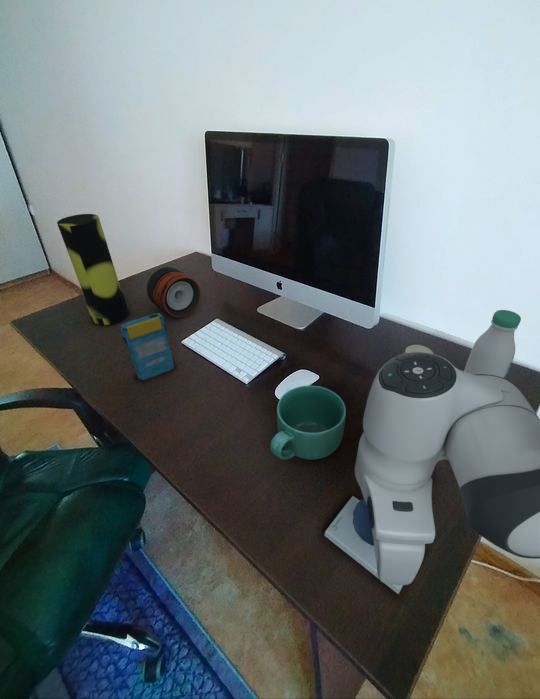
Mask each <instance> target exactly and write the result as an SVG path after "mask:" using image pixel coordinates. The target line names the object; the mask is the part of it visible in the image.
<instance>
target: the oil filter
mask: <svg viewBox="0 0 540 699" xmlns="http://www.w3.org/2000/svg"><path fill="white" fill-rule="evenodd" d="M146 293H147V296H148V299H149V300H150V301H151V303H152V304H153V305H154V306H156V307H158V308H159V309H161V310H163V311H164V312H166V313H167V314H169V315H170V316H172V317H174V318H183V317H186V316H189V315H190V314H191V313H193V312H194V311H195V310H196V308H197V307H198V305H199V304H200V301H201V288H200V285H199V283H198V282H197V281H196V280H195V279H194V278H192V277H190V276H188V275H187V274H185V273H184V272H183V271H181V270H178V269H177V268H175V267H170V266H165V267H161V268H158V269H157V270H155V271H154V272H153V273H152V274H151V275H150V277H149V279H148V280H147V284H146Z"/></svg>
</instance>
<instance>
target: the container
mask: <svg viewBox="0 0 540 699" xmlns="http://www.w3.org/2000/svg"><path fill="white" fill-rule="evenodd" d="M56 224H57V227H58V230H59V232H60V236H61V237H62V240H63V243H64V246H65V248H66V252H67V254H68V256H69V259H70V262H71V264H72V267H73V270H74V272H75V275H76V278H77V280H78V283H79V286H80V289H81V291H82V294H83V296H84V300H85V304H86V307H87V310H88V313H89V315H90V317H91V318H92V320H93V322H94V323H95V324H96V325H99V326H111V325H116V324H118V323H121V322H122V321H124V320H125V319H126V318H127V317H128V315H129V311H128V308H127V307H128V304H127V301H126V299H125V298H126V297H125V295H124V293H123V291H122V287H121V285H120V282H119V279H118V275H117V272H116V268H115V265H114V262H113V258H112V256H111V252H110V249H109V245H108V242H107V239H106V235H105V233H104V229H103V226H102V223H101V220H100V216H99V215H97V214H95V213H80V214H74V215H69V216H65V217H62V218H61V219H59V220H57V222H56Z"/></svg>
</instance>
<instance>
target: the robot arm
mask: <svg viewBox="0 0 540 699" xmlns="http://www.w3.org/2000/svg"><path fill="white" fill-rule="evenodd" d="M362 429H363V432H362V434H361V436H360V438H359V441H358V447H357V453H356V460H355V464H354V476H355V480H356V482H357V484H358V486H359V487H360V491H361V494H362V497H363V499H365V502H366V505H367V510H368V514H369V518H370V524H371V528H372V534H373V542H374V552H375V557H376V564H377V573H378V577H379V579H378V580H379V581H380V582H381V583H383V584H385V583H386V584H393V585H403V586H408V585H410V584H412V583H413V582H414V580H415V578H416V576H417V575H418V572H419V571H420V568H421V565H422V563H423V561H424V558H425V553H426V552H425V551H426V544H433V543H434V541H435V539H436V527H435V517H434V509H433V500H432V499H433V498H432V497H433V496H432V493H433V478H432V475H433V473H434V471H435V469H436V468H435V467H436V465H437V464H438V462H441V461H445V460H446V461H448V462H449V465H450V467H451V470H452V472H453V475H454V477H455V480H456V484H457V485H458V487H459V489H458V490H459V492H458V493H459V495H460V499H461V503H462V507H463V511H464V513H465V518H466V520H467V521H466V522H467V524H468V526H469V527H470V528H471V529H472V530H473V531H475V533H476V534H478V535H480V537H482V538H484V539H485V540H486V541H488V542H489V543H491V544H492V545H494V546H495V547H498V548H499V549H501V550H503V551H505V552H507V553H510V554H511V555H513V556H516V557H517V558H523V559H530V560H531V559H534V560H535V559H538V560H539V559H540V417H539V416H538V414H537V412H535V410H534V409H533V407H532V406H531V404H530V402H529V401H528V400H527V398H526V397H525V395H524V393H522V392H521V390H520V389H519V388H518V387H517V385H515V384H514V383H513V381H511V380H509V379H507V378H506V377H505V378H502V377H499V376H495V375H488V374H469V373H466V372H464V370H461V369H459V368H458V367H456V366H454V364H453V363H451V362H450V361H449V360H448V359H446V358H445V357H443V356H440V355H438V354H434V353H433V354H430V353H424V352H411V353H405V354H403V353H401V354H398V355H396V356H394V357H392V358H391V359H388V361H386V362H385V363H384V364H383V365H382V366H381V368H380V369H379V370H378V371H377V373H376V375H375V378H374V379H373V381H372V384H371V387H370V389H369V392H368V396H367V399H366V403H365V408H364V413H363V418H362ZM386 584H385V585H386Z"/></svg>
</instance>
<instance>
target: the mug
mask: <svg viewBox="0 0 540 699" xmlns="http://www.w3.org/2000/svg"><path fill="white" fill-rule="evenodd" d="M276 406H277V407H276V427H277V433H276V434H275V435H274V436H273V438H272V439H271V441H270V445H269V448H270V449H269V450H270V452H271V453H272V455H274V456H275V457H276V458H279V459H280V460H283V461H286V460H290V459H291V458H293V457H297V458H300V459H303V460H310V461H311V460H321V459H323V458H326V457H328V456H330V455H332V454H333V453H334V452H335V451H336V450H337V449H338V447H339V446H340V444H341V442H342V441H343V437H344V432H345V426H346V418H347V417H346V416H347V407H346V405H345V403H344V401H343V399H342V398H341V397H340V396H339V394H337V392H334V391H332V390H330V389H328V388H326V387H323V386H318V385H302V386H297V387H293V388H291V389H289V390H288V391H287V392H285V393H284V394H283V395H281V397H280V398H279V400H278V403H277V405H276Z"/></svg>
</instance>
